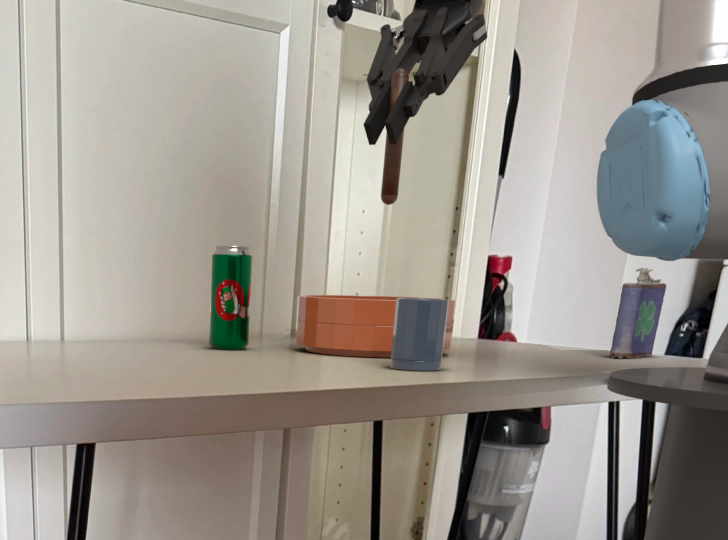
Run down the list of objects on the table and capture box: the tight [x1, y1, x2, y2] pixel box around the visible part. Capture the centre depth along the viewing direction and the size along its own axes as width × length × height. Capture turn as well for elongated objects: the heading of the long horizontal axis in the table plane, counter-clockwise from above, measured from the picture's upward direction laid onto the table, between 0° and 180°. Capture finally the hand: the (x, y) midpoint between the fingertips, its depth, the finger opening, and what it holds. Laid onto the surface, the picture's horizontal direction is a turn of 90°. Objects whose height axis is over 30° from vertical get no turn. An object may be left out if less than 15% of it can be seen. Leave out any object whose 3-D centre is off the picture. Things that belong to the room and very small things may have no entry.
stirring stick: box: [380, 68, 410, 206], centre depth 120 cm, size 2×2×14 cm
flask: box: [609, 267, 667, 359], centre depth 133 cm, size 9×3×11 cm, turn 132°
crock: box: [389, 297, 449, 372], centre depth 110 cm, size 5×6×7 cm
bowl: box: [294, 294, 457, 359], centre depth 131 cm, size 20×20×6 cm
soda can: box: [208, 245, 253, 351], centre depth 130 cm, size 5×5×12 cm
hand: (379, 133), depth 117 cm, fingers closed on stirring stick, 2 cm apart
